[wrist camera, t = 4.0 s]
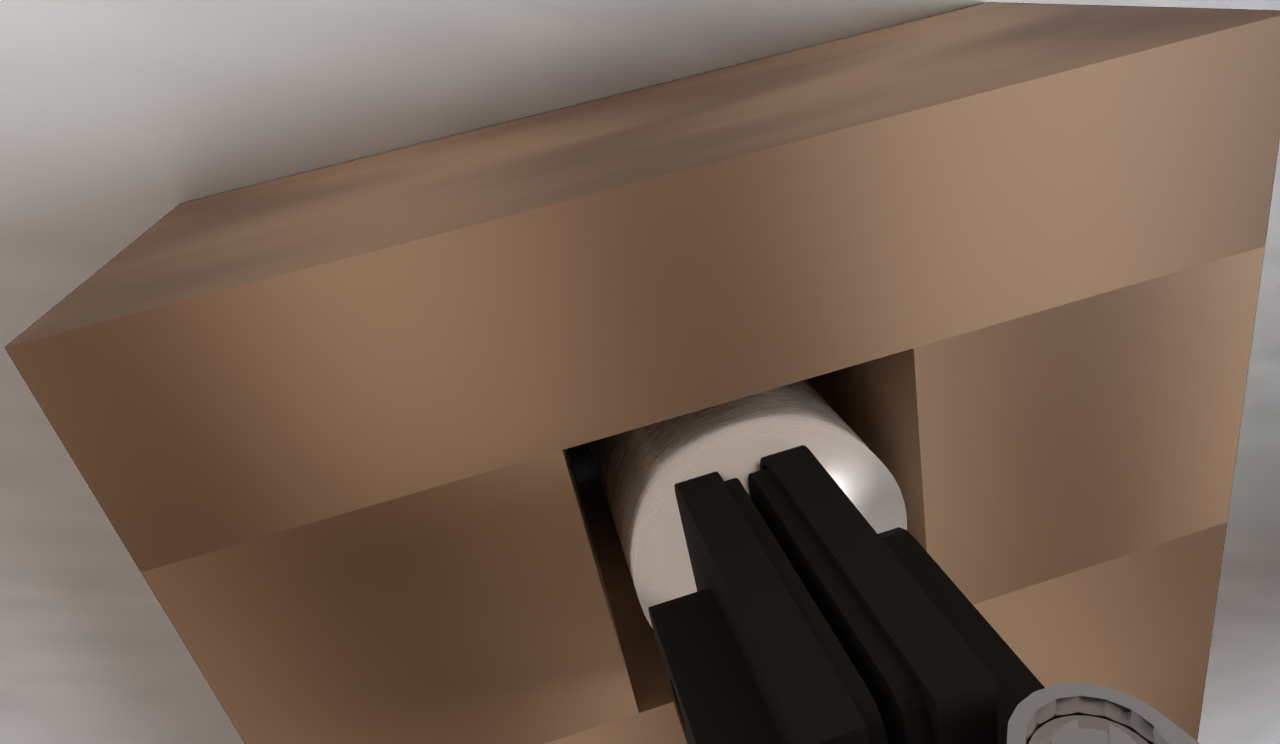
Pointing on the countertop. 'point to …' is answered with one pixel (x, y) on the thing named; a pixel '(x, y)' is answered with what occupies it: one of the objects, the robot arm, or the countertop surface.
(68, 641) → the countertop surface
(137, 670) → the countertop surface
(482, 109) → the countertop surface
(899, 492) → the peg
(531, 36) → the countertop surface
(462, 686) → the walnut block
